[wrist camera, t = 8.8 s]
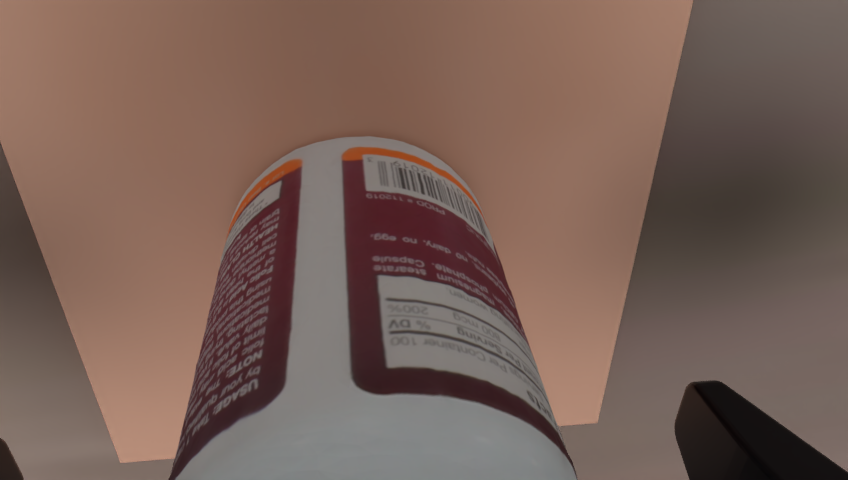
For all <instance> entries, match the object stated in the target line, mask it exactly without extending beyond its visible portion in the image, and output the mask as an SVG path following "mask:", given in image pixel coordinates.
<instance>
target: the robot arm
mask: <svg viewBox="0 0 848 480" xmlns="http://www.w3.org/2000/svg"><path fill="white" fill-rule="evenodd" d="M675 435H676V440H677V443H678V446H679V449H680V452H681V455H682V458H683V461H684V464H685V467H686V470H687V473H688V477H689V480H848V472H847V471H845V470H844V469H843V468H841V467H840V466H838V465H837V464H836V463H834V462H833V461H831V460H830V459H829V458H827V457H826V456H824V455H823V454H822V453H820V452H819V451H817V450H816V449H815V448H813V447H812V446H810V445H809V444H808V443H806V442H805V441H803V440H802V439H801V438H799V437H798V436H796V435H795V434H794V433H792V432H791V431H790V430H788V429H787V428H785V427H784V426H783V425H781V424H780V423H778V422H777V421H776V420H774V419H773V418H771V417H770V416H769V415H767V414H766V413H764V412H763V411H762V410H760V409H759V408H757V407H756V406H755V405H753V404H752V403H750V402H749V401H748V400H746V399H745V398H743V397H742V396H741V395H739V394H738V393H736V392H735V391H734V390H732V389H731V388H730V387H728V386H727V385H725V384H724V383H722V382H720V381H715V380H712V381H699V382H692V383H690V384H689V385H688V386H687V387H686V389H685V392H684V395H683V398H682V401H681V404H680V408H679V411H678V414H677V417H676V420H675ZM0 480H24V478H23V475H22V473H21V471H20V469H19V467H18V465H17V463H16V461H15V459H14V457H13V455H12V454H11V452H10V450H9V448H8V446H7V444H6V442H5V441H4V440H3V439H1V438H0Z"/></svg>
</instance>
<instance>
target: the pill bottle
mask: <svg viewBox="0 0 848 480" xmlns="http://www.w3.org/2000/svg"><path fill="white" fill-rule="evenodd" d="M169 480H577V476H576V472H575V469H574V466H573V463H572V460H571V459H570V457H569V455H568V453H567V450H566V448H565V445H564V442H563V439H562V436H561V433H560V430H559V428H558V425H557V423H556V420H555V418H554V415H553V412H552V409H551V406H550V403H549V400H548V397H547V394H546V391H545V389H544V386H543V383H542V380H541V377H540V374H539V372H538V368H537V365H536V362H535V360H534V357H533V355H532V352H531V349H530V346H529V343H528V340H527V337H526V335H525V332H524V329H523V327H522V324H521V321H520V318H519V315H518V312H517V309H516V304H515V301H514V298H513V295H512V292H511V290H510V288H509V286H508V283H507V280H506V277H505V274H504V270H503V267H502V264H501V261H500V259H499V256H498V253H497V251H496V248H495V245H494V242H493V240H492V237H491V235H490V232H489V229H488V226H487V223H486V220H485V217H484V215H483V212H482V209H481V207H480V205H479V203H478V201H477V199H476V197H475V196H474V194H473V192H472V191H471V189H470V188H469V186H468V185H467V184H466V182H465V181H464V180H463V179H462V178H461V177H460V176H459V175H458V174H457V173H456V172H455V171H454V170H453V169H452V168H451V167H450V166H448V165H447V164H445V163H444V162H443V161H442V160H440V159H439V158H437V157H436V156H434V155H432V154H430V153H428V152H427V151H425V150H423V149H420V148H418V147H416V146H413V145H410V144H407V143H405V142H402V141H398V140H394V139H387V138H380V137H372V136H364V137H342V138H335V139H330V140H325V141H320V142H316V143H313V144H310V145H307V146H304V147H301V148H298V149H295V150H294V151H292V152H290V153H289V154H287V155H285V156H284V157H282V158H280V159H279V160H278V161H276V162H275V163H273V164H272V165H271V166H270V167H268V168H267V169H266V170H265V171H264V172H263V173H262V174H261V175H260V176H259V177H258V178H257V179H255V181H254V182H253V183H252V184H251V186H250V187H249V188H248V189H247V190H246V192H245V193H244V195H243V196H242V198H241V200H240V202H239V204H238V206H237V208H236V210H235V212H234V214H233V216H232V220H231V223H230V226H229V230H228V234H227V238H226V242H225V247H224V250H223V253H222V257H221V262H220V267H219V271H218V276H217V281H216V285H215V290H214V295H213V298H212V302H211V306H210V310H209V314H208V319H207V324H206V329H205V333H204V337H203V342H202V346H201V350H200V355H199V359H198V362H197V364H196V369H195V375H194V381H193V385H192V390H191V394H190V398H189V402H188V406H187V411H186V415H185V419H184V423H183V427H182V431H181V436H180V440H179V445H178V449H177V452H176V456H175V459H174V463H173V467H172V472H171V476H170V478H169Z"/></svg>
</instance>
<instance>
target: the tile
mask: <svg viewBox="0 0 848 480" xmlns="http://www.w3.org/2000/svg"><path fill="white" fill-rule="evenodd" d="M692 5H693V0H0V142H1V145H2V148H3V150H4V153H5V156H6V158H7V161H8V164H9V167H10V169H11V172H12V175H13V177H14V180H15V183H16V185H17V188H18V191H19V193H20V196H21V199H22V201H23V204H24V207H25V209H26V212H27V215H28V217H29V220H30V223H31V225H32V228H33V231H34V233H35V236H36V239H37V241H38V244H39V247H40V249H41V252H42V255H43V257H44V260H45V263H46V265H47V268H48V271H49V273H50V276H51V279H52V281H53V284H54V287H55V289H56V292H57V295H58V297H59V300H60V303H61V305H62V308H63V311H64V313H65V316H66V319H67V321H68V324H69V327H70V329H71V332H72V335H73V337H74V340H75V343H76V345H77V348H78V351H79V353H80V356H81V359H82V361H83V364H84V367H85V369H86V372H87V375H88V377H89V380H90V383H91V385H92V388H93V391H94V393H95V396H96V399H97V401H98V404H99V407H100V409H101V412H102V415H103V417H104V420H105V423H106V426H107V428H108V431H109V434H110V436H111V439H112V442H113V444H114V447H115V450H116V452H117V455H118V458H119V460H120V463H126V462H138V461H150V460H162V459H174V458H175V456H176V452H177V449H178V445H179V440H180V436H181V431H182V427H183V423H184V419H185V415H186V411H187V406H188V402H189V398H190V394H191V390H192V385H193V381H194V375H195V369H196V364H197V362H198V359H199V355H200V350H201V346H202V342H203V337H204V333H205V329H206V324H207V319H208V314H209V310H210V306H211V302H212V298H213V295H214V290H215V285H216V281H217V276H218V271H219V267H220V262H221V257H222V253H223V250H224V247H225V242H226V238H227V234H228V230H229V226H230V223H231V220H232V216H233V214H234V212H235V210H236V208H237V206H238V204H239V202H240V200H241V198H242V196H243V195H244V193H245V192H246V190H247V189H248V188H249V187H250V186H251V184H252V183H253V182H254V181H255V179H257V178H258V177H259V176H260V175H261V174H262V173H263V172H264V171H265V170H266V169H267V168H268V167H270V166H271V165H272V164H273V163H275V162H276V161H278V160H279V159H280V158H282V157H284V156H285V155H287V154H289V153H290V152H292V151H294V150H295V149H298V148H301V147H304V146H307V145H310V144H313V143H316V142H320V141H325V140H330V139H335V138H342V137H364V136H372V137H380V138H387V139H394V140H398V141H402V142H405V143H407V144H410V145H413V146H416V147H418V148H420V149H423V150H425V151H427V152H428V153H430V154H432V155H434V156H436V157H437V158H439V159H440V160H442V161H443V162H444V163H445V164H447V165H448V166H450V167H451V168H452V169H453V170H454V171H455V172H456V173H457V174H458V175H459V176H460V177H461V178H462V179H463V180H464V181H465V182H466V184H467V185H468V186H469V188H470V189H471V191H472V192H473V194H474V196H475V197H476V199H477V201H478V203H479V205H480V207H481V209H482V212H483V215H484V217H485V220H486V223H487V226H488V229H489V232H490V235H491V237H492V240H493V242H494V245H495V248H496V251H497V253H498V256H499V259H500V261H501V264H502V267H503V270H504V274H505V277H506V280H507V283H508V286H509V288H510V290H511V292H512V295H513V298H514V301H515V304H516V309H517V312H518V315H519V318H520V321H521V324H522V327H523V329H524V332H525V335H526V337H527V340H528V343H529V346H530V349H531V352H532V355H533V357H534V360H535V362H536V365H537V368H538V372H539V374H540V377H541V380H542V383H543V386H544V389H545V391H546V394H547V397H548V400H549V403H550V406H551V409H552V412H553V415H554V418H555V420H556V423H557V425H558V426H567V425H578V424H590V423H598V418H599V414H600V409H601V405H602V401H603V396H604V392H605V387H606V383H607V379H608V374H609V370H610V365H611V361H612V357H613V352H614V348H615V343H616V339H617V335H618V330H619V326H620V321H621V317H622V313H623V308H624V304H625V299H626V295H627V291H628V286H629V282H630V277H631V273H632V269H633V264H634V260H635V255H636V251H637V247H638V242H639V238H640V233H641V229H642V225H643V220H644V216H645V211H646V207H647V203H648V198H649V194H650V189H651V185H652V181H653V176H654V172H655V167H656V163H657V159H658V154H659V150H660V145H661V141H662V137H663V132H664V128H665V123H666V119H667V115H668V110H669V106H670V101H671V97H672V93H673V88H674V84H675V79H676V75H677V71H678V66H679V62H680V57H681V53H682V49H683V44H684V40H685V35H686V31H687V27H688V22H689V18H690V13H691V9H692Z"/></svg>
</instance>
